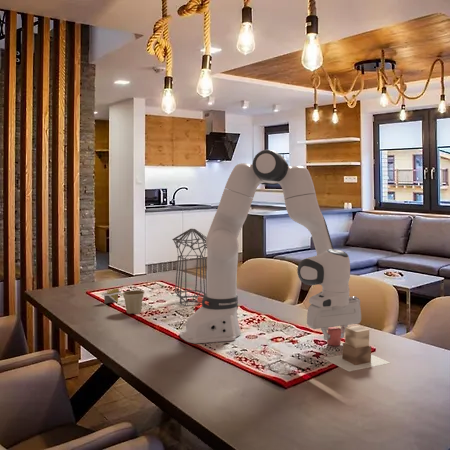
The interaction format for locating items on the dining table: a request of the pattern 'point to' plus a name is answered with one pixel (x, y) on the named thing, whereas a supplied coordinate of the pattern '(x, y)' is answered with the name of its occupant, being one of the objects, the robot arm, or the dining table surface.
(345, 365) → the board
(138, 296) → the flower pot
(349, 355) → the walnut base
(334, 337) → the red capsule
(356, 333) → the beech cube
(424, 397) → the dining table surface
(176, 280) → the geometric lantern
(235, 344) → the dining table surface
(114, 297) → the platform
